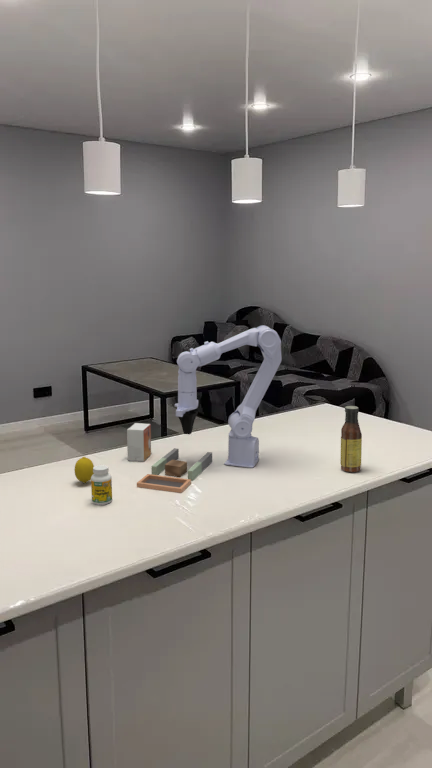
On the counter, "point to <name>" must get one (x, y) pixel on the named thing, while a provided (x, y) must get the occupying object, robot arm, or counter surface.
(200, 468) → the green and grey bars
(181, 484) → the tray
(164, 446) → the counter surface
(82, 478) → the lemon
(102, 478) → the supplement bottle
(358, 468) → the sauce bottle
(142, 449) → the small box
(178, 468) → the walnut block
